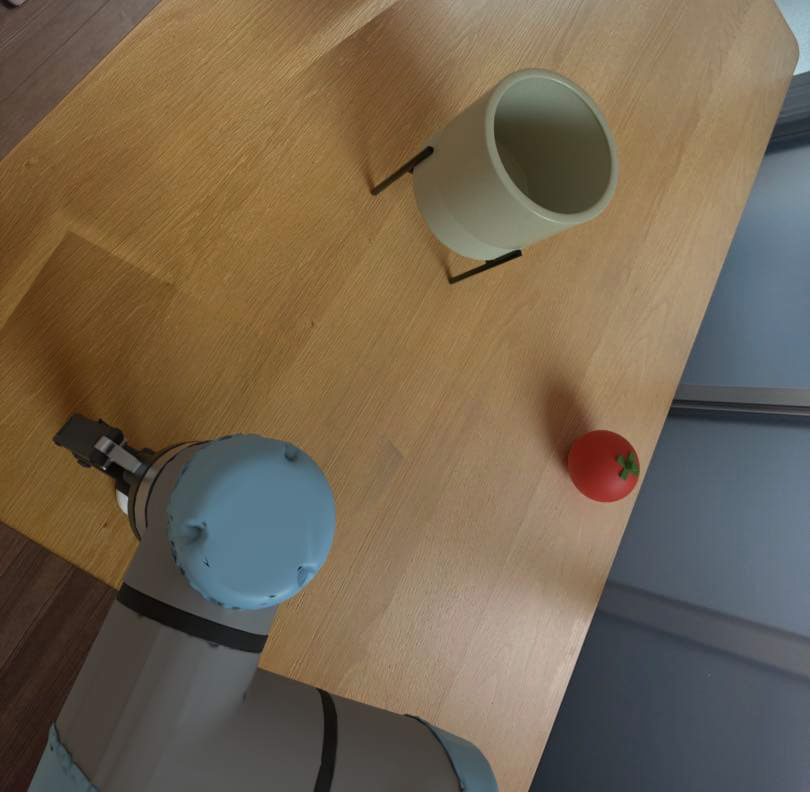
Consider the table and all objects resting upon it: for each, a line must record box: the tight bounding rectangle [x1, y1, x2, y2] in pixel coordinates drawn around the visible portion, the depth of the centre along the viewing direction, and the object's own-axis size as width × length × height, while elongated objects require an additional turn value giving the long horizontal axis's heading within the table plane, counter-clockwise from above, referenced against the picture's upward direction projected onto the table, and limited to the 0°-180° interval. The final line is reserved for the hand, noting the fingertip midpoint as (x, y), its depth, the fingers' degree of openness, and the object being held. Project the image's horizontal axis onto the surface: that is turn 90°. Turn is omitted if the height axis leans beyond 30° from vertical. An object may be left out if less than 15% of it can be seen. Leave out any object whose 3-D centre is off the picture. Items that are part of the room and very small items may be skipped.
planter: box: [370, 67, 620, 285], centre depth 76 cm, size 15×16×23 cm
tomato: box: [567, 429, 641, 504], centre depth 83 cm, size 8×8×9 cm
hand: (146, 489), depth 64 cm, fingers open, 11 cm apart
